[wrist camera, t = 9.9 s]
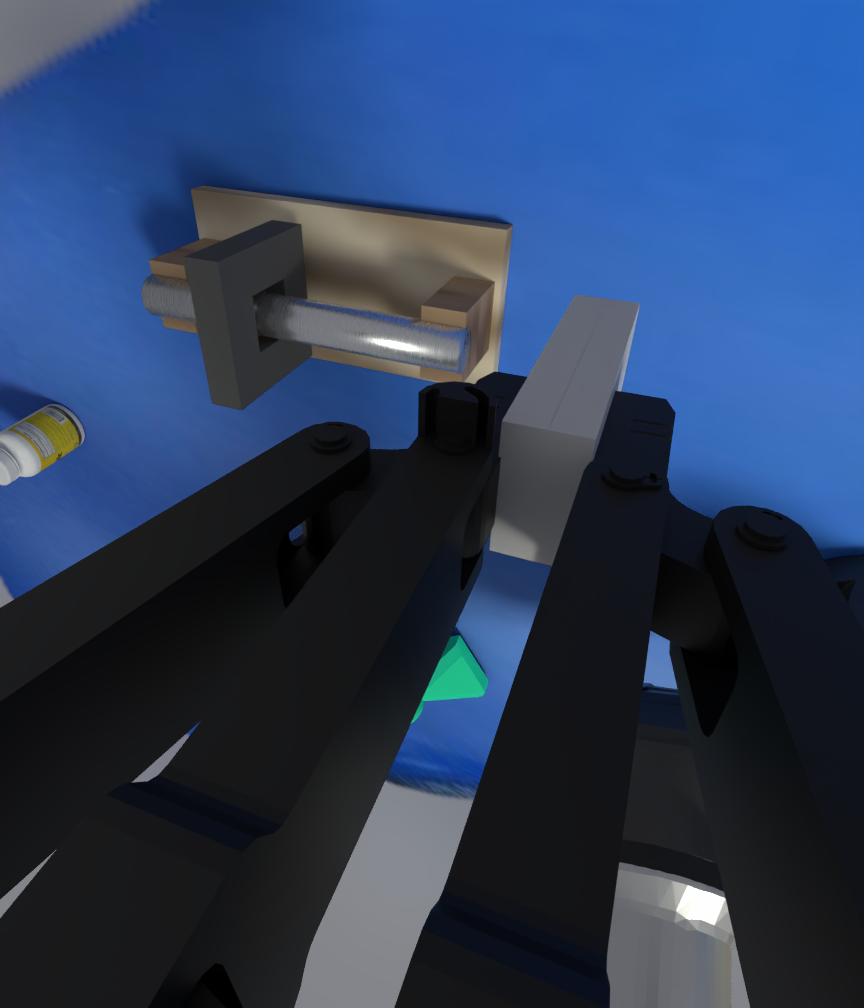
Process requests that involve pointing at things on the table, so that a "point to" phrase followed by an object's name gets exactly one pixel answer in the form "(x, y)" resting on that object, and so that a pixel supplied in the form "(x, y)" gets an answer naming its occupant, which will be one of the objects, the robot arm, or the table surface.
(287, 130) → the table surface
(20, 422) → the supplement bottle
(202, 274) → the collar
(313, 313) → the pipe
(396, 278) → the pipe stand
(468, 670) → the camera mount
